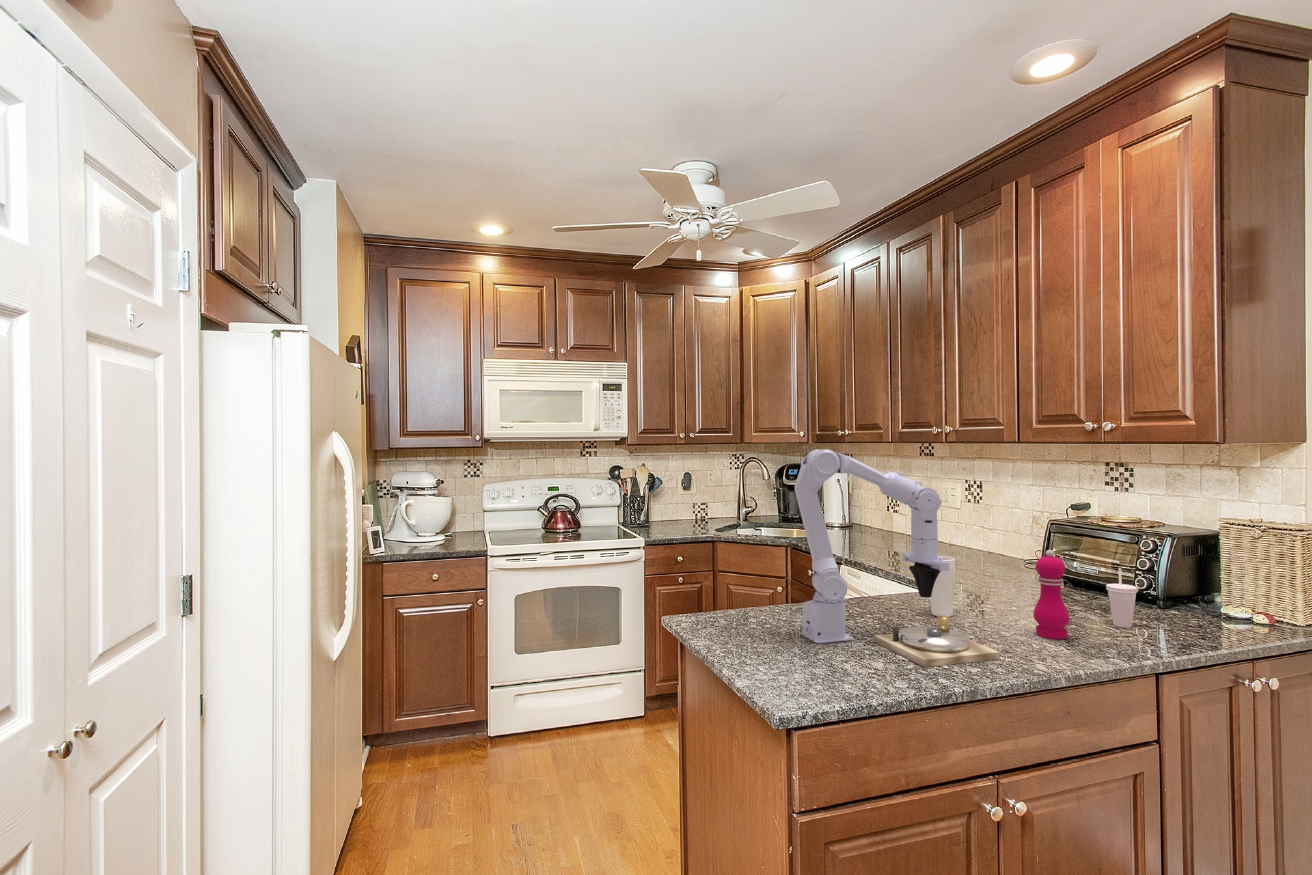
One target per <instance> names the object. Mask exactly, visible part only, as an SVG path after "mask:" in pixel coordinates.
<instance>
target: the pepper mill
mask: <svg viewBox="0 0 1312 875" xmlns="http://www.w3.org/2000/svg"><path fill="white" fill-rule="evenodd" d="M1065 565H1066V564H1065V563H1064V562H1063V560H1061V558H1058V557H1057V556H1055V552H1054V550H1052V549H1048V550H1046V551H1045V556H1042V557H1040V558H1038V559H1037V560H1036V562H1035V571H1036V572H1037V573H1038V575H1039V576H1038V577H1037V578H1038V583H1039V584H1040V595H1039V598H1038V601H1037V603H1036V605H1035V607H1034V609H1033V618H1034V620H1035V621H1036V623H1037V625H1036V626H1035V634H1036V635H1038V637H1042V638H1045V639H1049V640H1051V639H1052V640H1064V639H1067V638H1068V629H1067V628H1065V627H1066V626H1067V625H1068V624H1069V623H1070V615H1069V614H1070V613H1069V611H1068V609H1067V606H1066V605H1065V603H1064V599H1063V597H1062V586H1063V585H1064V579H1063V575H1064V574H1065V573H1066V566H1065Z"/></svg>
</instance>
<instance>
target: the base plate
mask: <svg viewBox="0 0 1312 875" xmlns="http://www.w3.org/2000/svg"><path fill="white" fill-rule="evenodd" d="M899 628H900V627H898V626H893V627H892V633H885V634H876V635H874V643H876V644H878V645H880V646H882V647H884V648H886V649H887V650H889V651H892V652H894V653H896V654H898V655H900V656H901V657H904V658H905V659H907V660H910V661H912V662H914V663H915V664H917V665H919V666H921V667H923V668H930V667H939V666H940V667H941V666H948V665H949V666H951V665H958V664H968V663H978V662H987V661H994V660H995V661H996V660H997V661H998V660H1001V651H999V650H996V649H993V648H991V647H989V646H986V645H983V644H980V643H979V642H976V641H973V640H972V639H970V647H969V648H968V649H966V650H963V651H956V652H937V651H928V650H922V649H918V648H914V647H911V646H908V645H906V644H904V643H902V642H901V640H900V632H899V631H900V630H899Z"/></svg>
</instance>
